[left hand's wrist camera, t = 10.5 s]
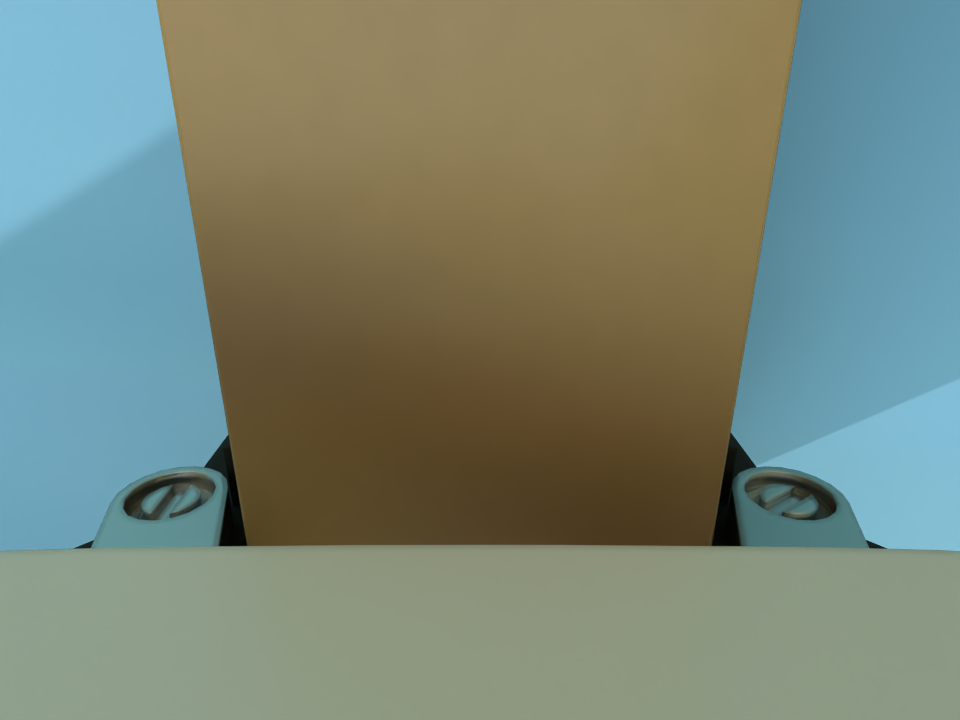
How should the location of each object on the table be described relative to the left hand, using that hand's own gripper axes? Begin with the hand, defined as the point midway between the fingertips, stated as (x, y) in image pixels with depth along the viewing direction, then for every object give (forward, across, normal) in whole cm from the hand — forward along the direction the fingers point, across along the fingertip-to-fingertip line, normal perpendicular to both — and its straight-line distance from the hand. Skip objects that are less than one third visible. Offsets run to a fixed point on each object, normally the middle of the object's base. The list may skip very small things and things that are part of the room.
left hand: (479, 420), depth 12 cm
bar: (+2, 0, -24) cm, 24 cm away
